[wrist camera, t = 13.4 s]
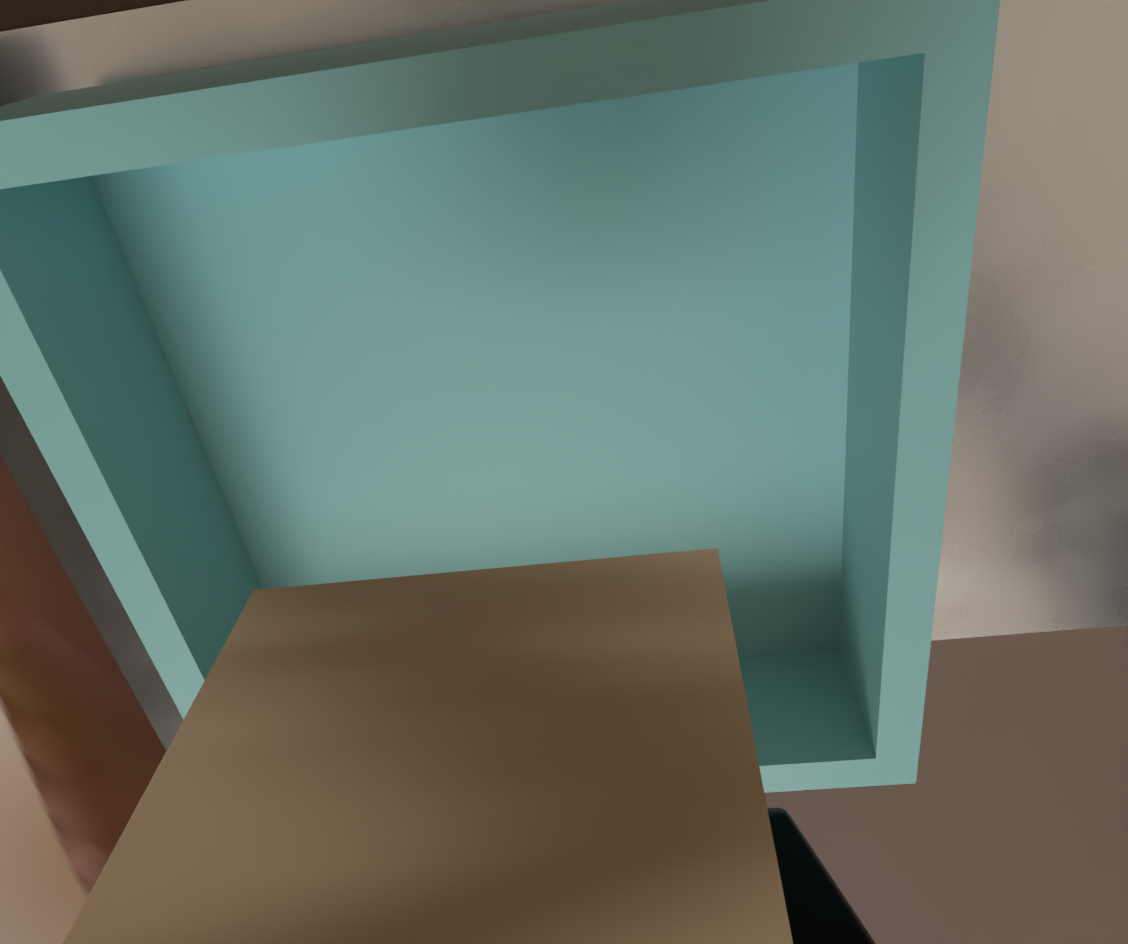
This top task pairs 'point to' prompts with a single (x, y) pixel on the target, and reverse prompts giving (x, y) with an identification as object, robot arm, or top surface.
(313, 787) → the part
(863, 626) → the teal storage bin
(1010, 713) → the top surface
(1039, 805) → the top surface
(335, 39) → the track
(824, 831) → the top surface
